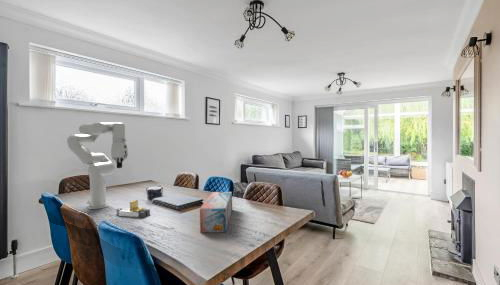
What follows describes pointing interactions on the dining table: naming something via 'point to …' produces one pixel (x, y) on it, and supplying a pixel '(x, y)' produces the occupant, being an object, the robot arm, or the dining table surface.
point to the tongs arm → (130, 213)
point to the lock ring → (135, 206)
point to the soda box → (216, 212)
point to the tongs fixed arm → (141, 210)
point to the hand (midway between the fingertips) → (119, 167)
